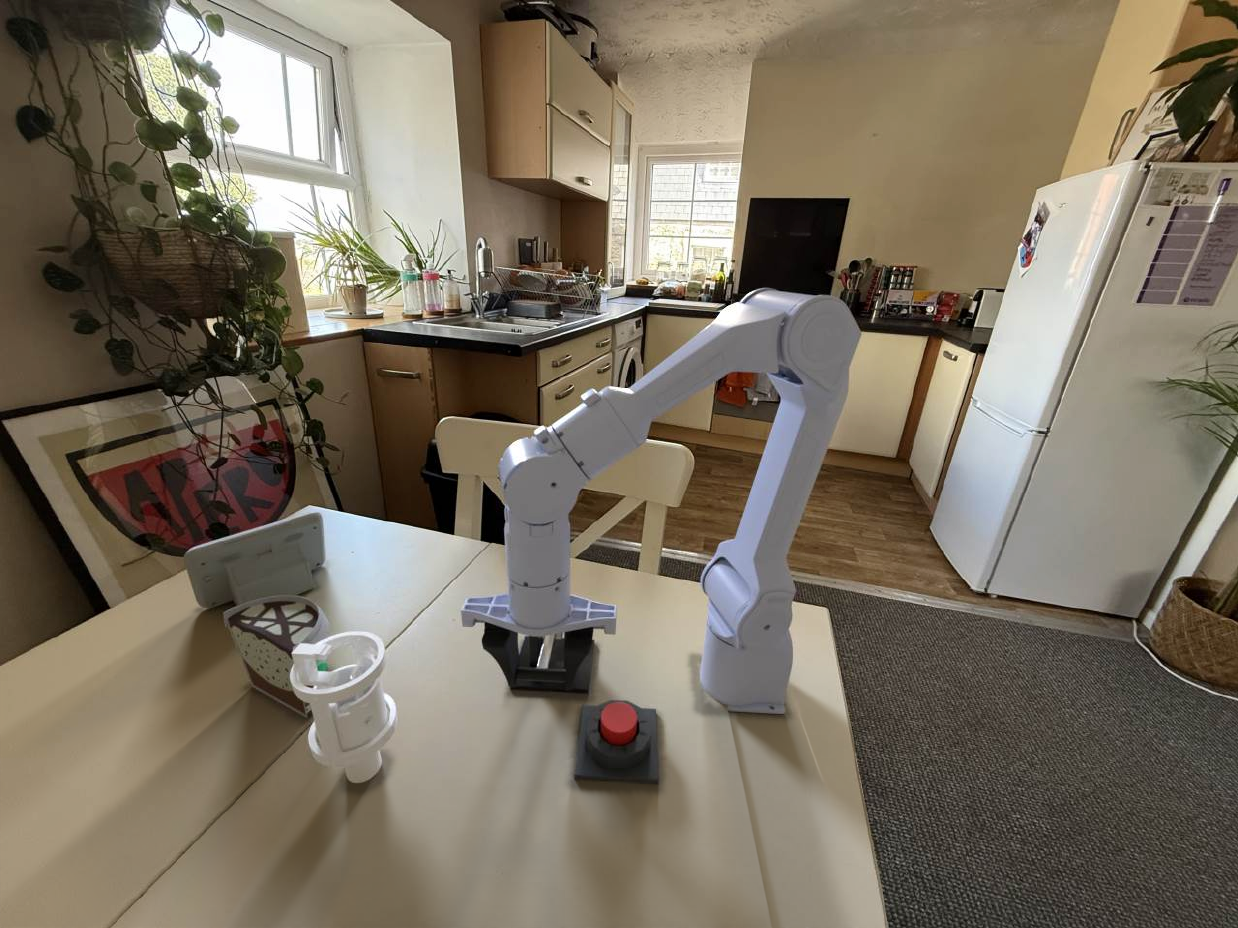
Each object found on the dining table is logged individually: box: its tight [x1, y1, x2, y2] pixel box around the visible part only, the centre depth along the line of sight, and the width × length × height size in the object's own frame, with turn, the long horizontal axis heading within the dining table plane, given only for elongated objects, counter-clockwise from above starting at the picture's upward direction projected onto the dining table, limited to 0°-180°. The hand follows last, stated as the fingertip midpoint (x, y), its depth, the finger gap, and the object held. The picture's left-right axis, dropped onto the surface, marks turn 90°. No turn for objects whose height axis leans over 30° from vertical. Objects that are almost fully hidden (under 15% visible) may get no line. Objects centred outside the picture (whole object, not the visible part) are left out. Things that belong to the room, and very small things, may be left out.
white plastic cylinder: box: [290, 630, 398, 784], centre depth 44 cm, size 7×7×15 cm
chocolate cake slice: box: [222, 595, 330, 719], centre depth 55 cm, size 12×6×10 cm, turn 65°
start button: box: [601, 702, 637, 746], centre depth 49 cm, size 4×4×2 cm
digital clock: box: [183, 511, 327, 609], centre depth 69 cm, size 16×9×11 cm, turn 127°
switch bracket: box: [509, 632, 595, 695], centre depth 58 cm, size 8×9×9 cm
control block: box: [573, 699, 660, 785], centre depth 50 cm, size 8×8×3 cm
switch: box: [516, 632, 566, 682], centre depth 54 cm, size 10×5×2 cm, turn 178°
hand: (542, 680), depth 50 cm, fingers closed on switch, 5 cm apart
